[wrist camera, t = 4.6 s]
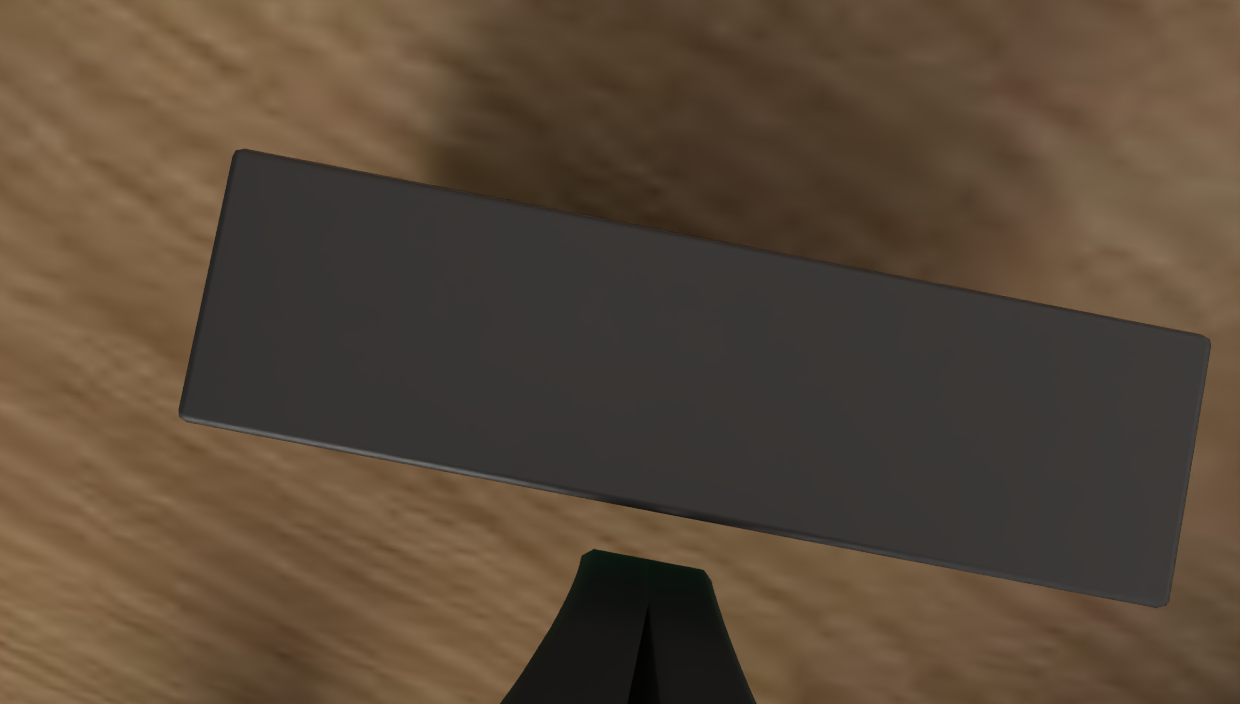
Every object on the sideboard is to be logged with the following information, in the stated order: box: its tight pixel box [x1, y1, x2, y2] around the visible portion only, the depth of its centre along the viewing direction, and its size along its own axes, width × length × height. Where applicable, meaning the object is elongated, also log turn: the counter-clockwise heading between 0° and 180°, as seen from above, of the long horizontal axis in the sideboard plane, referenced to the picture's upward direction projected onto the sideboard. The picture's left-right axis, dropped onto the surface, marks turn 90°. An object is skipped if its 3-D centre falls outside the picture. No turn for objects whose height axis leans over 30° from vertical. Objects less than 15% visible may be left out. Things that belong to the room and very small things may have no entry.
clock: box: [179, 149, 1211, 608], centre depth 13 cm, size 3×9×8 cm, turn 80°
